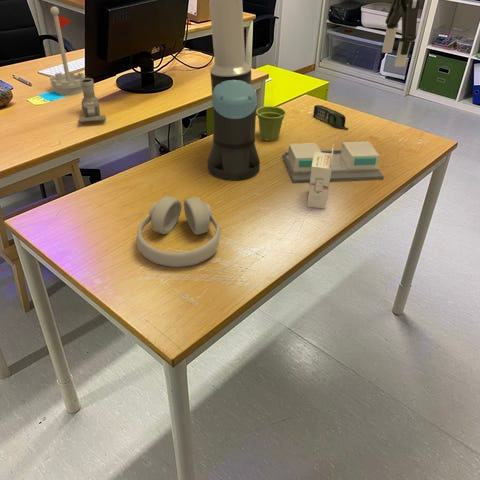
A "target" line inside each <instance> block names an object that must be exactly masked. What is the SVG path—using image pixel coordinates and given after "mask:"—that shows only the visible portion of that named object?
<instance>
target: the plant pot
mask: <svg viewBox="0 0 480 480" xmlns="http://www.w3.org/2000/svg"><path fill="white" fill-rule="evenodd" d="M256 115H257V118H258V126H259V127H258V129H259V136H260V137H259V138H260V139H261V140H264V141H266V140H267V141H269V142H272V141H277V140H278V139H279V138H280V134H281V133H280V132H281V128H282V125H283V124H282V123H283V120H284V118H285V116H286V115H287V111H286V110H285V109H284V108H282V107H279V106H275V105H274V106H273V105H272V106H269V105H268V106H267V105H265V106H261V107H259V108H256Z"/></svg>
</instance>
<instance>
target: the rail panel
mask: <svg viewBox="0 0 480 480" xmlns="http://www.w3.org/2000/svg"><path fill="white" fill-rule="evenodd" d="M341 143H342V144H341V148H334V149H333V160H332V168H331V176H330V182H350V181H351V182H352V181H353V182H354V181H373V180H374V181H375V180H376V181H377V180H379V181H380V180H384V178H385V176H384V174H383V173H382V172H381V170H380V168H379V167H378V163H379V160H380V154H379V152H378V151H377V150H376V148H375V147H374V145H372V144H371V142H370V141H343V142H341ZM318 145H319V144H317V142H310V143H309V142H308V143H306V142H305V143H289V144H288V150H287V149H286V150H284V153H282V154H281V157H282V159H283V162H284V164H285V168H286V169H287V172H288V174H289V177H290V179H291V181H292V184H296V183H297V184H302V183H310V177H311V167H312V161H313V156H314V152H322V153H331V154H332V148H324V149H322V148H321V149H320V147H319V146H318Z"/></svg>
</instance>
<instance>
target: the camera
mask: <svg viewBox="0 0 480 480" xmlns="http://www.w3.org/2000/svg"><path fill="white" fill-rule="evenodd" d="M80 83H81V88H82V89H83V92H82V95H83V97H82V100H81V110H82V115H83V116H80V117H79V118H78V121H77V122H78V123H81V122H94V121H105V120H106V119H107V118H106V115H103V114H102V115H101V113H100V111H101V109H100V103H99V99H98V97H97V96H95V95H96V94H95V83H94V79H93V78H90V77H86V78H83V79H81V80H80Z"/></svg>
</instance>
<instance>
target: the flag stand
mask: <svg viewBox="0 0 480 480" xmlns="http://www.w3.org/2000/svg"><path fill="white" fill-rule="evenodd" d="M49 9H50V14H52V16H53V20H54V26H55V30H56V35H57V40H58V41H57V42H58V44H59V45H58V46H59V51H60V57H61V61H62V65H63V66H62V67H63V70H64V74H62V72H58V73H55V74H54V76H53V75H51V76H50V77H49V80H50V85H51V87H52V88H54V91H55V93H56V94H57V93H58V94H57V95H59V94H60V96H67V97H68V96H75V95H79V94H83V89H82V88H81V83H80V80H81V79H83V78H85V77H86V75H85V74H84V73H83V72H77V74H75V72H74V71H70V70H69V66H68V61H67V56H66V50H65V45H64V40H63V36H62V30H61V29H62V28H63V27H65V26H66V25H68V24H69V23H71V22H72V20H71V19H68V18H66V17H63V16H61V15H59V14H60V10H59V8H58V6H52V7H50V8H49Z"/></svg>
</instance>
